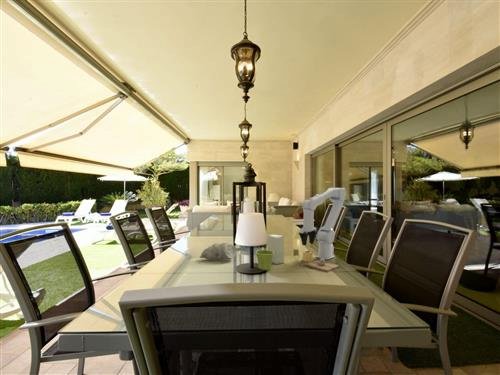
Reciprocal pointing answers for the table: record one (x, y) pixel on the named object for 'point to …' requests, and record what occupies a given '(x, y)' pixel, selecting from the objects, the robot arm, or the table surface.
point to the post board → (322, 265)
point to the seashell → (219, 252)
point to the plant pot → (264, 259)
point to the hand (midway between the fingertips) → (307, 244)
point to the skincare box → (276, 248)
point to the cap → (307, 256)
